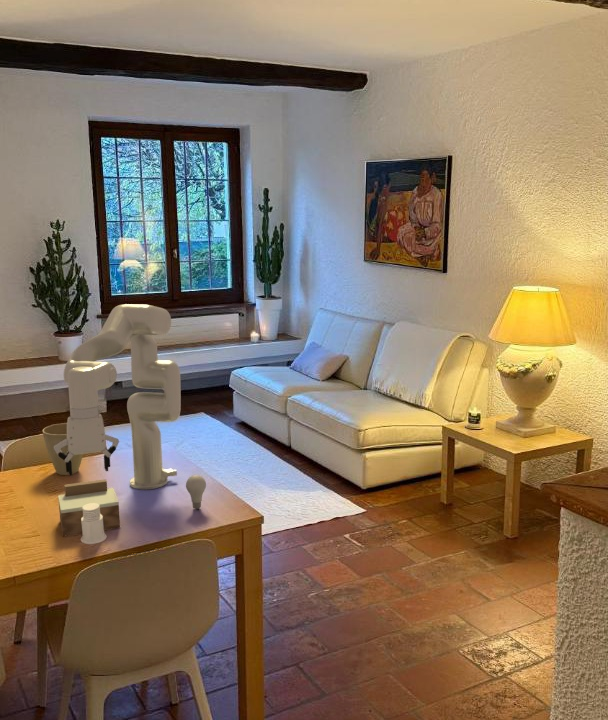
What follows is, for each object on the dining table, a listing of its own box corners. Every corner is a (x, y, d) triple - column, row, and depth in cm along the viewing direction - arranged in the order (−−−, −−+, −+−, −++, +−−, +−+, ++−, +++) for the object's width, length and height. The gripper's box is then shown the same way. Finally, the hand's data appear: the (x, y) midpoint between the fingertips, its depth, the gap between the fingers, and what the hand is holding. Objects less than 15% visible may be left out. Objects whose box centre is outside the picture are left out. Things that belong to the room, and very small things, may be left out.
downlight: (86, 532, 214) (83, 500, 211) (110, 532, 214) (107, 500, 211) (76, 545, 206) (73, 512, 204) (101, 546, 206) (99, 513, 203)
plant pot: (82, 478, 256) (79, 434, 253) (39, 479, 257) (36, 434, 254) (94, 464, 271) (92, 422, 268) (54, 464, 271) (51, 422, 268)
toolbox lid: (113, 490, 226) (112, 478, 225) (118, 505, 215) (117, 492, 214) (58, 498, 221) (57, 485, 220) (61, 513, 210) (60, 500, 209)
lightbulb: (210, 506, 232) (209, 473, 229) (201, 514, 226) (200, 480, 224) (192, 504, 234) (191, 471, 231) (183, 511, 228) (182, 477, 226)
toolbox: (114, 512, 228) (113, 491, 226) (120, 527, 217) (118, 505, 215) (60, 520, 222) (58, 498, 221) (62, 536, 211) (61, 513, 210)
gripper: (115, 405, 209) (118, 464, 212) (50, 412, 203) (55, 471, 206) (118, 412, 202) (122, 472, 205) (52, 419, 196) (56, 480, 199)
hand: (88, 472), depth 206 cm, fingers open, 9 cm apart
